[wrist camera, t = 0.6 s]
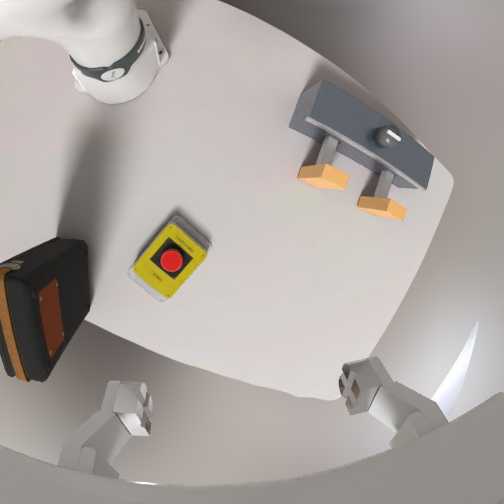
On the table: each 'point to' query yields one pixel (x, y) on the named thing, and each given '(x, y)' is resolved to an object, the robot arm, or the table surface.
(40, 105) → the table surface
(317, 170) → the knob
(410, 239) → the table surface
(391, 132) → the dial
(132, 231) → the table surface
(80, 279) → the black box
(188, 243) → the emergency button
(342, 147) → the mount
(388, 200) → the knob
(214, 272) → the table surface
